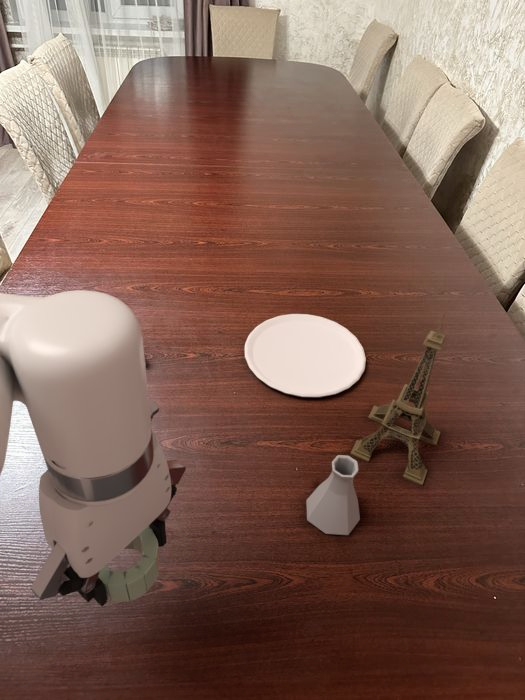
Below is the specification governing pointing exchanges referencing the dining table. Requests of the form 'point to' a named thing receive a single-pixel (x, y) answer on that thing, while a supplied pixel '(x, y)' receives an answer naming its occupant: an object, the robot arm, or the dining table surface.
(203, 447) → the dining table surface
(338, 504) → the flask
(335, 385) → the plate
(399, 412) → the eiffel tower
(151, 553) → the pale green ring
